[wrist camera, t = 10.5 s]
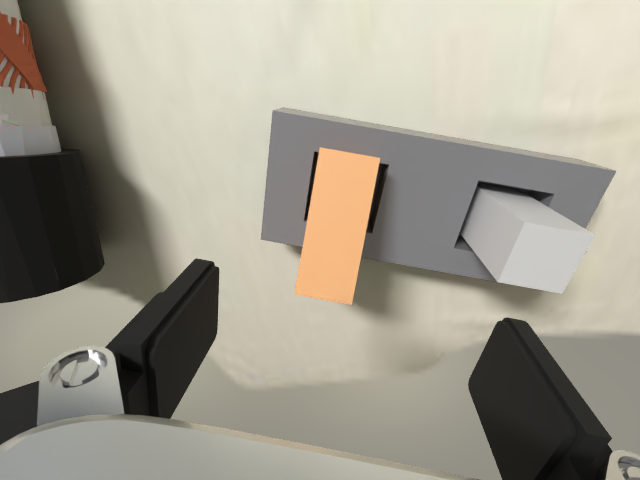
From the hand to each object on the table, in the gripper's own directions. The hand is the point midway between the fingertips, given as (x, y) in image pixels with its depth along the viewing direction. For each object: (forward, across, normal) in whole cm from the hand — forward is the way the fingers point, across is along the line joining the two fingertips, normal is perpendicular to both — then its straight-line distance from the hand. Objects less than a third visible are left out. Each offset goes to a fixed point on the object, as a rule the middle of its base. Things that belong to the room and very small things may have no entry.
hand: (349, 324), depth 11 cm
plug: (+15, +1, -3) cm, 15 cm away
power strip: (+19, -5, 0) cm, 20 cm away
